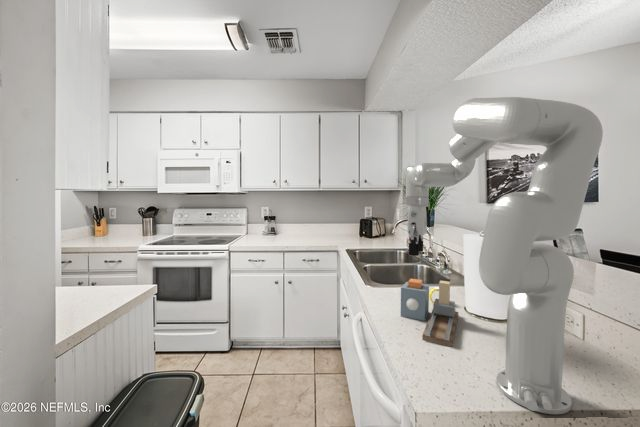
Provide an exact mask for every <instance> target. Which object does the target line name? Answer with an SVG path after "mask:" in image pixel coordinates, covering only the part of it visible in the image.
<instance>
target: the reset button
mask: <svg viewBox="0 0 640 427" xmlns="http://www.w3.org/2000/svg"><path fill="white" fill-rule="evenodd" d="M407 282H408V288H415V289H422V284H423V279H416V278H409V280H408V281H407Z"/></svg>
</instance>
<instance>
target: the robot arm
mask: <svg viewBox="0 0 640 427" xmlns="http://www.w3.org/2000/svg"><path fill="white" fill-rule="evenodd" d="M456 109H457V110H455V112H454V114H453V117H452V128H453V130H454V132H455V134H454V135H453V136H452V137H451V138H450V140H449V143H448V150H449V152H450V153H451V155H452V156H453V157H454V158H455V159H454V160H451V162H449V163H448V162H447V163H446V162H444V163H443V162H421V163H419V164H417V165H412V166H408V167H407V169H406V171H405V207H408V208H407V209H408V210H407V235H408V236H409V238H408V239H409V240H408V255H409V256H415V257H418V256H419V255H420V253H422V252H423V251H424V236H425V234H427V232H428V231H427V230H428V229H427V228H428V226H427V225H428V224H427V223H428V222H427V221H428V220H427V219H428V218H427V207H430V206H429V203H430V202H429V200H430V199H429V194H430V188H436V187H437V188H441V187H442V188H449V187H453V186H456V185H457V184H459V183H460V182H462V181H463V180H465V179H466V178H467V177H468V176H470V175H471V173H472V172H473V170H474V168H475V166H476V160H477V159H478V158H479V157H480V156H482V155H483V154H484V153H486V152H487V151H488V150H490V149H491V148H492V147H493V146H495V145H497V143H499V144H500V143H501V144H507V145H522V146H523V145H526V146H528V145H529V146H543V147H545V148H546V149H545V151H544V152H542V154H541V155H540V157H539V158H538V160H537V161H536V163H535V165H534V168H533V170H532V174H531V180H530V183H529V187H528V189H527V191H515V192H510V193H507V194H504V195H502V196H501V197H499V198H498V199H497V200H495V202H494V203H493V204H492V206H491V207H490V209H489V211H488V214H487V218H486V222H485V227H484V232H483V237H482V238H483V239H482V243H481V247H480V248H481V249H480V253H479V259H478V271H479V272H478V273H479V276H480V279H481V281H482V283H483V285H485V287H486V288H487V289H488V290H490V291H491V292H493V293H496V294H498V295H504V296H509V298H508V302H507V303H508V304H507V314H506V315H507V316H506V338H505V339H506V340H505V367H504V368H505V369H504V370H501V371H500V372H498V373H497V375H496V379H495V380H496V386H497V387H498V389H499V390H500V392H501V393H503V394H504V396H506V397H507V398H509V399H510V400H511V401H513V402H515V403H516V404H518V405H519V406H522V407H524V408H526V409H528V410H529V411H533V412H537V413H542V414H546V415H564V414H566V413H569V411H571V409H572V398H571V396H570V395H569V393H568V392H567V391H566V390H565V389H563V371H564V370H563V368H564V352H565V351H564V350H565V348H564V347H565V332H566V331H565V330H566V314H567V305H568V299H569V295H570V292H571V290H572V285H573V281H574V276H575V275H574V272H575V271H574V269H575V268H574V265H573V262H572V260H571V259H570V256H568V254H567V253H566V252H565V251H564V250H562V249H560V248H559V247H556V246H554V245H551V244H545V243H535V242H548V241H555V240H561V239H565V238H568V237H569V236H571V235H572V234H573V233H575V230H576V228H577V227H578V224H579V221H580V218H581V214H582V211H583V207H584V204H585V200H586V199H585V198H586V195H587V192H588V188H589V185H590V179H591V175H592V172H593V168H594V165H595V162H596V159H597V157H598V154H599V152H600V149H601V145H602V142H603V137H604V136H603V133H604V132H603V125H602V123H601V121H600V119H599V117H598V116H597V115H596V114H595V113H594V112H593V111H591V109H589V108H586V107H584V106H582V105H579V104H575V103H572V102H571V103H570V102H566V101H561V100H553V99H540V98H531V97H521V96H520V97H519V96H505V97H504V96H503V97H474V98H471V99H470V98H469V99H467V100H466V101H464V102H463V103H462V104H460V105H459V107H458V108H456Z"/></svg>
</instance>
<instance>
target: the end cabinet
mask: <svg viewBox="0 0 640 427" xmlns="http://www.w3.org/2000/svg"><path fill="white" fill-rule="evenodd" d="M429 293H430V285H429V284H427V283H426V284H424V283H422V289H415V288H408V281H405V283H403V285H402V286H401V287H400V317H403V318H404V317H405V318H408V319H414V320H419V321H426V319H427V317H428V315H429V312H430V308H429V307H430V305H429V304H430V301H429V300H430V298H429Z"/></svg>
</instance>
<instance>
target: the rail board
mask: <svg viewBox="0 0 640 427" xmlns="http://www.w3.org/2000/svg"><path fill="white" fill-rule="evenodd" d="M456 309H457V308H456V307H455V311H454V315H453V317H452V316H446V315H441V314H435V313H433V310H431V313H430V316H429V318H428V321H427V323H426V326H425V328H424V331H423V332H422V340H423V341H425V342H430V343H434V344H439V345H443V346H448V347H451V348H453V347H454V342H455V338H456V337H455V336H456V332H457V331H456V330H457V327H458V320H459V311H456Z"/></svg>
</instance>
